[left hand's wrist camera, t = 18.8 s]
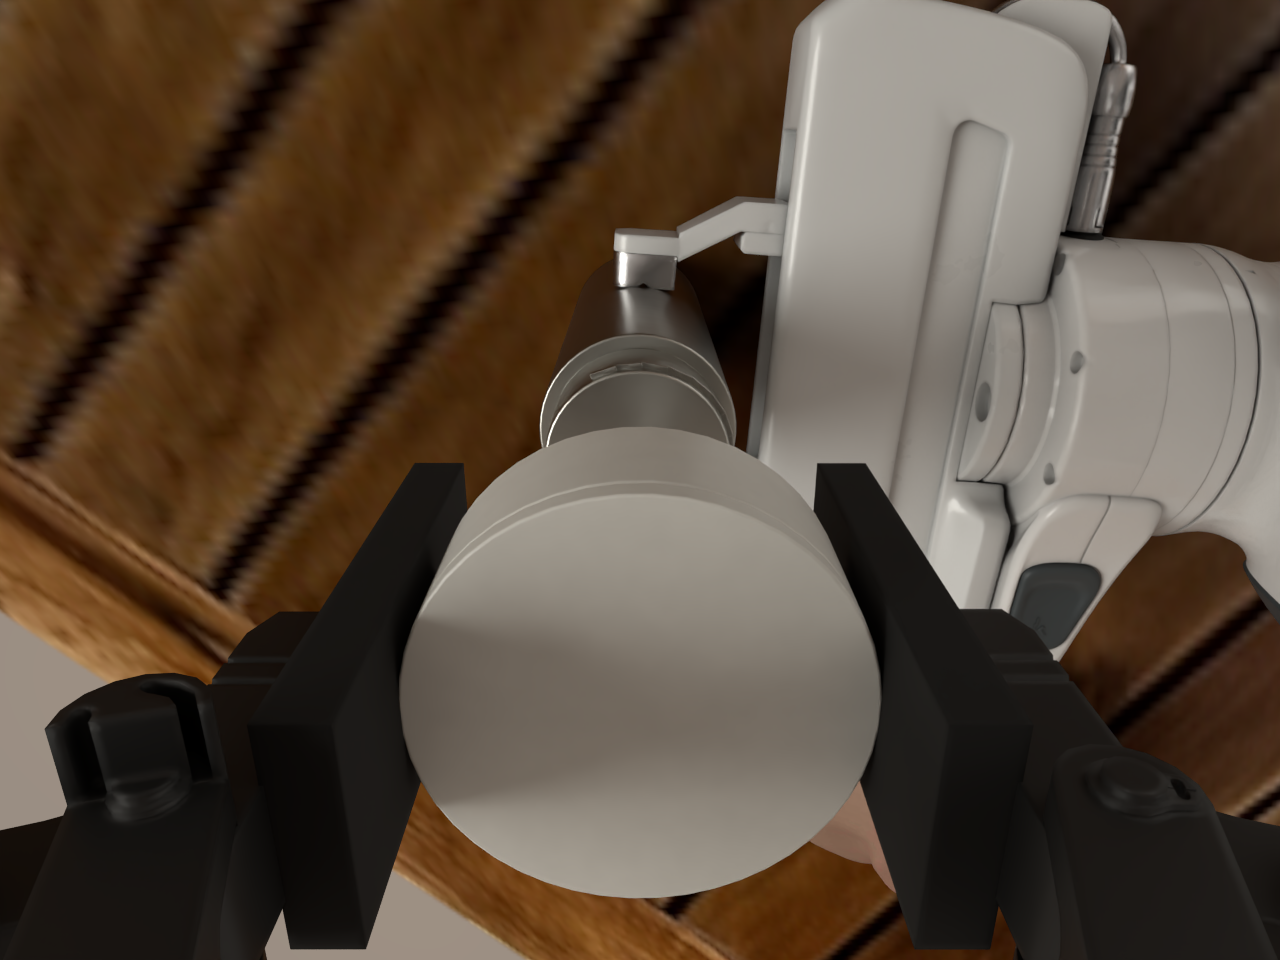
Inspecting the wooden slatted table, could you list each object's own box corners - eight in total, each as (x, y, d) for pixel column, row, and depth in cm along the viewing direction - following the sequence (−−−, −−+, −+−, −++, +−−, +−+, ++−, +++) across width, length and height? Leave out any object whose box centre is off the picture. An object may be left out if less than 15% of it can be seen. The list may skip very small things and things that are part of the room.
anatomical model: (750, 911, 38) (821, 680, 34) (740, 841, 42) (803, 625, 38) (1053, 954, 39) (1158, 734, 35) (1017, 882, 43) (1108, 676, 39)
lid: (369, 504, 12) (310, 587, 10) (776, 365, 11) (807, 422, 9) (530, 819, 14) (510, 944, 12) (885, 717, 13) (931, 831, 11)
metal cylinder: (716, 352, 34) (773, 519, 19) (602, 393, 34) (577, 585, 20) (676, 235, 32) (705, 323, 18) (557, 280, 33) (495, 399, 18)
